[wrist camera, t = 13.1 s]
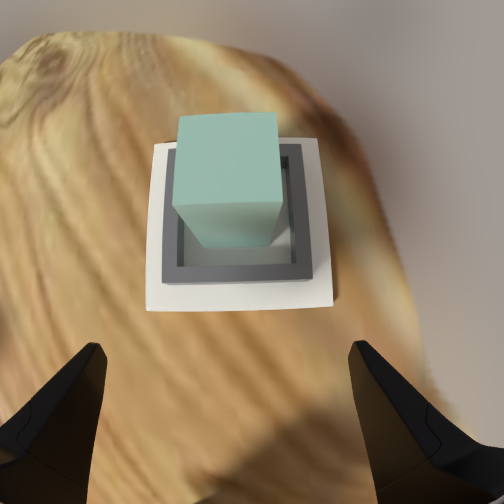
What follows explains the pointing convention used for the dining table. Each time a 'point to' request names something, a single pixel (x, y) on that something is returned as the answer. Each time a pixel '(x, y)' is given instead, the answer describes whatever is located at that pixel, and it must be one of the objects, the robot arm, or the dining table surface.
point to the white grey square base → (242, 258)
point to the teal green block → (228, 178)
